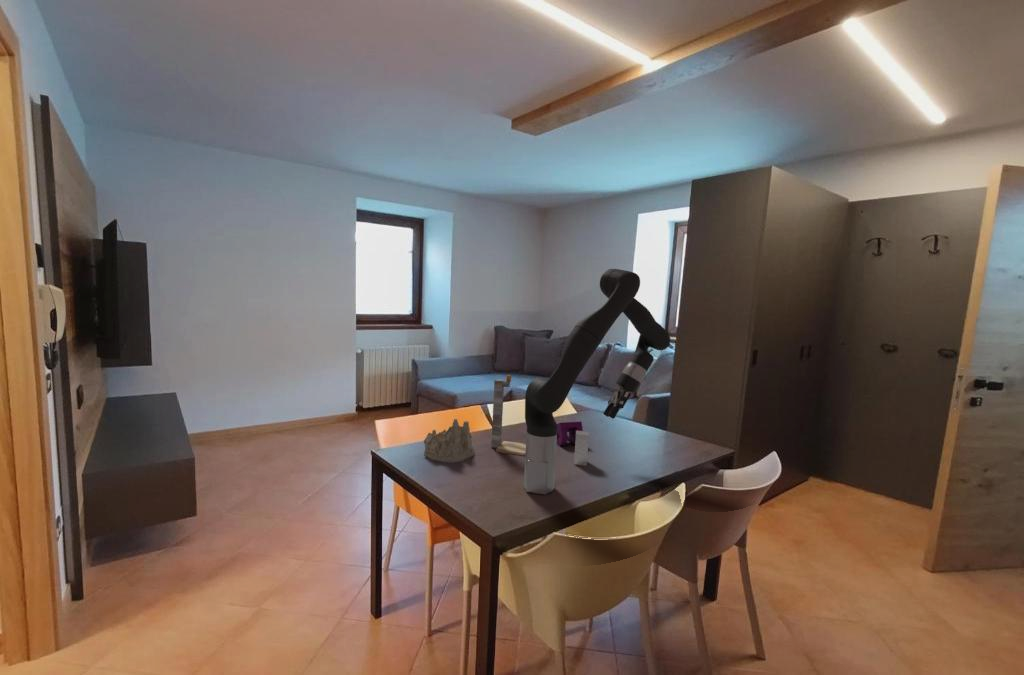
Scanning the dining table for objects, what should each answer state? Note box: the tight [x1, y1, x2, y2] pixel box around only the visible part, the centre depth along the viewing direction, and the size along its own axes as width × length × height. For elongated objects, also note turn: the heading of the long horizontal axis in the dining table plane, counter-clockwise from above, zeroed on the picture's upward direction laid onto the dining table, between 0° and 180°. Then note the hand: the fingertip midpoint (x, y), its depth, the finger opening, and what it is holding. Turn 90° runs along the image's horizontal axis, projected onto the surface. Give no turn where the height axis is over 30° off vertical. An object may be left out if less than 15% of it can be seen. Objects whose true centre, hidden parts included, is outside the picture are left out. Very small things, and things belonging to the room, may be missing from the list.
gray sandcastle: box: [423, 418, 476, 463], centre depth 158 cm, size 16×16×15 cm
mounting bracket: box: [556, 421, 584, 446], centre depth 181 cm, size 9×8×18 cm
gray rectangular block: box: [573, 430, 590, 467], centre depth 156 cm, size 4×4×11 cm
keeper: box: [490, 374, 526, 457], centre depth 167 cm, size 11×14×28 cm
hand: (608, 416), depth 155 cm, fingers open, 8 cm apart
